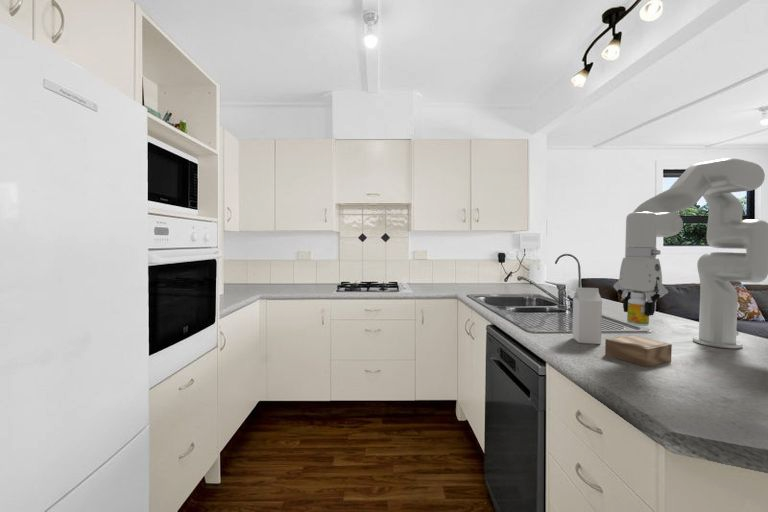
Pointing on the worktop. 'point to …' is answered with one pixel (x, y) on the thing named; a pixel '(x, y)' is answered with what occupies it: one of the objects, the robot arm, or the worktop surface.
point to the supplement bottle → (637, 309)
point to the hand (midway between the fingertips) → (638, 312)
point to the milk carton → (587, 315)
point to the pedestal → (638, 350)
